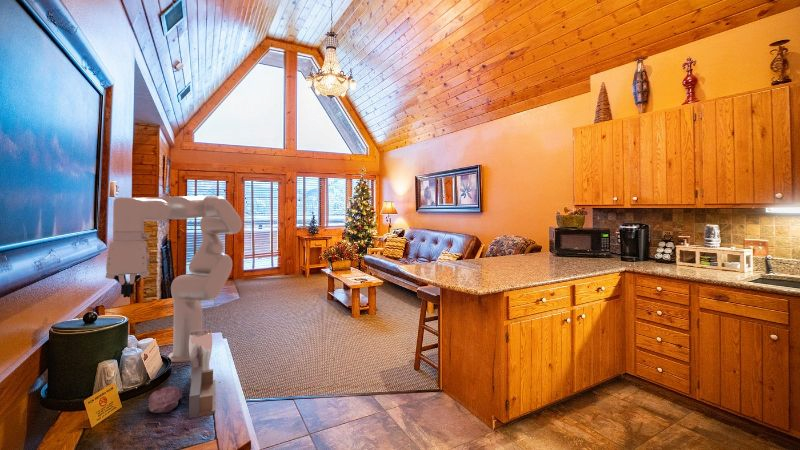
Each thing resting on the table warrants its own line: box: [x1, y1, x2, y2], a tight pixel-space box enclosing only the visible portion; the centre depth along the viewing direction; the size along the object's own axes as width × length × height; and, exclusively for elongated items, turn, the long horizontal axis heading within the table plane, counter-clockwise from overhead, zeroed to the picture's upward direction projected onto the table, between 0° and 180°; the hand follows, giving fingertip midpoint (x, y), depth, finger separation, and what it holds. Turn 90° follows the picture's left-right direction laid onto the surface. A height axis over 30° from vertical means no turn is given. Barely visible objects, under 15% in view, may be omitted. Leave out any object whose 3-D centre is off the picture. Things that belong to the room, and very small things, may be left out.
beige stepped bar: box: [188, 366, 216, 419], centre depth 105 cm, size 20×6×6 cm, turn 28°
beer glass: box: [189, 329, 213, 381], centre depth 119 cm, size 7×7×15 cm
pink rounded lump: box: [147, 386, 183, 414], centre depth 101 cm, size 8×14×5 cm, turn 29°
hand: (127, 296), depth 109 cm, fingers closed
